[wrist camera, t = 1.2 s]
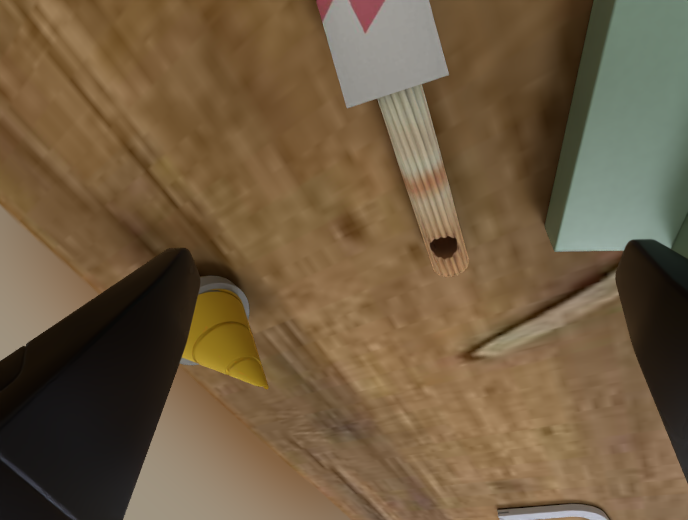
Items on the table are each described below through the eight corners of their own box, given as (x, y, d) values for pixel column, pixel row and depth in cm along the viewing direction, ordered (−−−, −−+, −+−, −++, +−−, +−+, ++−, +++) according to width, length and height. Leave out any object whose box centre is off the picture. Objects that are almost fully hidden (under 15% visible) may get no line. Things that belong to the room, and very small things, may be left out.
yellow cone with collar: (166, 243, 27) (257, 329, 20) (234, 271, 31) (328, 351, 24) (118, 321, 27) (194, 432, 20) (192, 339, 31) (274, 437, 24)
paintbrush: (359, -355, 10) (491, 277, 22) (365, -324, 12) (483, 240, 24) (207, -262, 11) (413, 291, 23) (235, -247, 13) (411, 255, 25)
